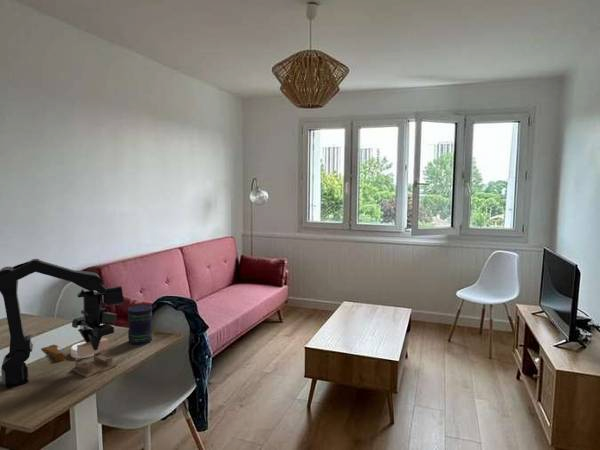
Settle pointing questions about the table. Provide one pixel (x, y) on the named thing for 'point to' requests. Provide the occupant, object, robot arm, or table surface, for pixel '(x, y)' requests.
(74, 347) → the coaster
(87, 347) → the pinkish tan rectangular block
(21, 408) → the table surface
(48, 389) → the table surface
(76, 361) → the tan two-rail tray
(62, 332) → the table surface
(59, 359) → the primitive tool
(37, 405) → the table surface
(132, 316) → the storage jar
